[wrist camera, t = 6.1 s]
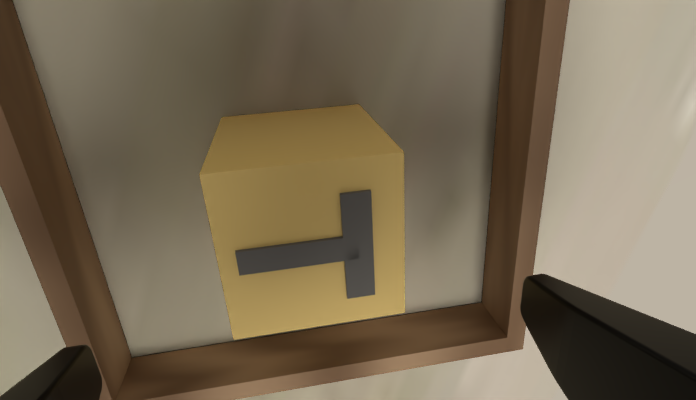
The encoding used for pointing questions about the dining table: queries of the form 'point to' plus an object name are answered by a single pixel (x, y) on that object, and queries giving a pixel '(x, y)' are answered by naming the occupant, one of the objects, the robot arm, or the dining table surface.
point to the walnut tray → (303, 346)
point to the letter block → (306, 218)
